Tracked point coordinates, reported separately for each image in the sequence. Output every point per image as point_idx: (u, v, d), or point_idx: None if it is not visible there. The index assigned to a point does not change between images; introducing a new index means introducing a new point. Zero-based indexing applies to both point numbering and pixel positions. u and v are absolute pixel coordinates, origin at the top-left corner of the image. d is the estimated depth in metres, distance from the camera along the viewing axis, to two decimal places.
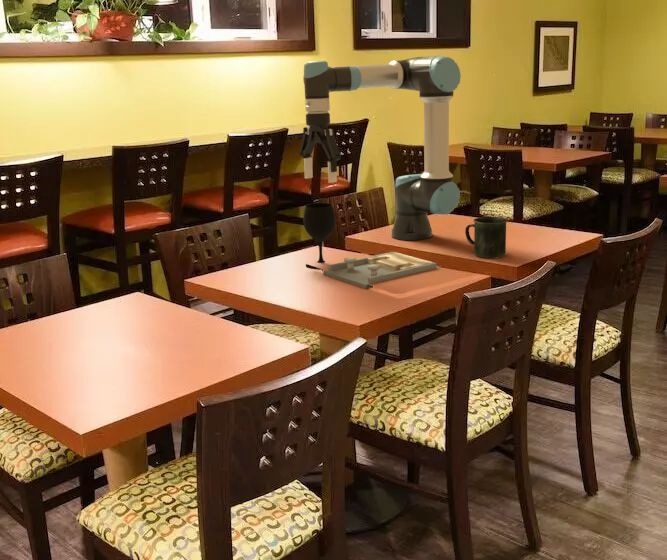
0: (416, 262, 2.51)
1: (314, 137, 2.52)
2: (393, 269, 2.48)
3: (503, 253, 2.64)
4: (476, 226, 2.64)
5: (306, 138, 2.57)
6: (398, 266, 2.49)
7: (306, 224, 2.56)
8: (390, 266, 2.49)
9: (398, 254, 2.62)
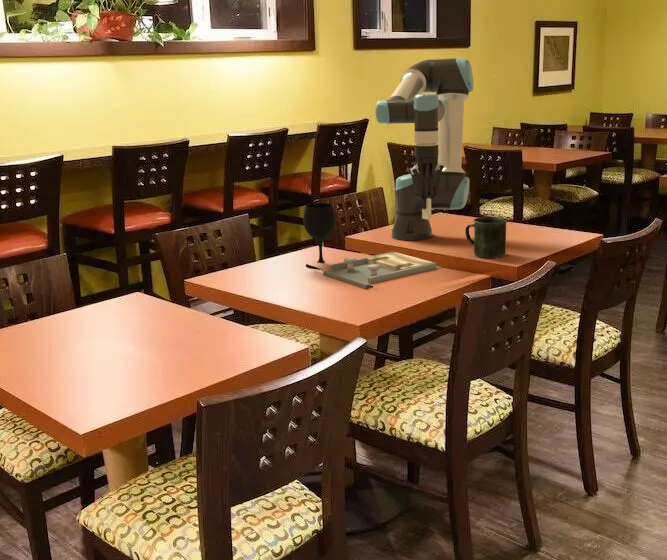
0: (416, 262, 2.51)
1: None
2: (393, 269, 2.48)
3: (503, 253, 2.64)
4: (476, 226, 2.64)
5: (434, 174, 2.56)
6: (398, 266, 2.49)
7: (306, 224, 2.56)
8: (390, 266, 2.49)
9: (398, 254, 2.62)
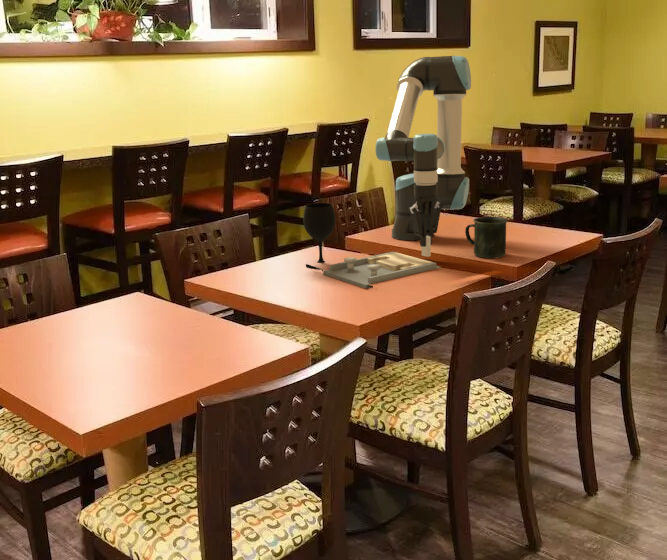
0: (416, 262, 2.51)
1: None
2: (393, 269, 2.48)
3: (503, 253, 2.64)
4: (476, 226, 2.64)
5: (434, 212, 2.59)
6: (398, 266, 2.49)
7: (306, 224, 2.56)
8: (390, 266, 2.49)
9: (398, 254, 2.62)
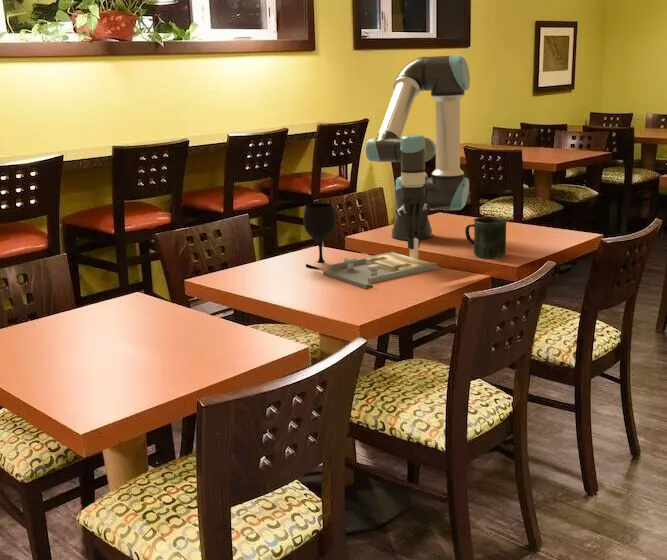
0: (414, 262, 2.50)
1: None
2: (391, 269, 2.48)
3: (503, 253, 2.64)
4: (476, 226, 2.64)
5: (421, 214, 2.56)
6: (396, 266, 2.48)
7: (306, 224, 2.56)
8: (388, 267, 2.48)
9: (396, 254, 2.61)
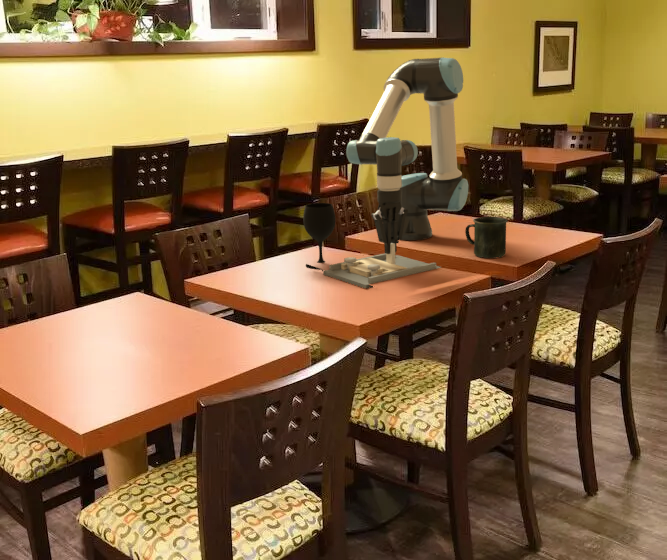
0: (390, 268, 2.45)
1: None
2: (366, 275, 2.42)
3: (503, 253, 2.64)
4: (476, 226, 2.64)
5: (398, 218, 2.51)
6: None
7: (306, 224, 2.56)
8: (364, 272, 2.43)
9: (373, 259, 2.56)
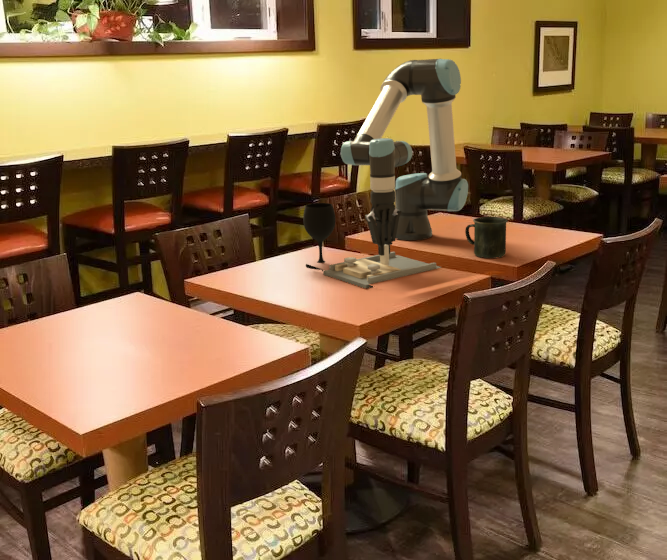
0: (384, 269, 2.44)
1: None
2: (360, 276, 2.41)
3: (503, 253, 2.64)
4: (476, 226, 2.64)
5: (392, 219, 2.50)
6: (365, 273, 2.42)
7: (306, 224, 2.56)
8: (357, 273, 2.42)
9: (367, 261, 2.55)
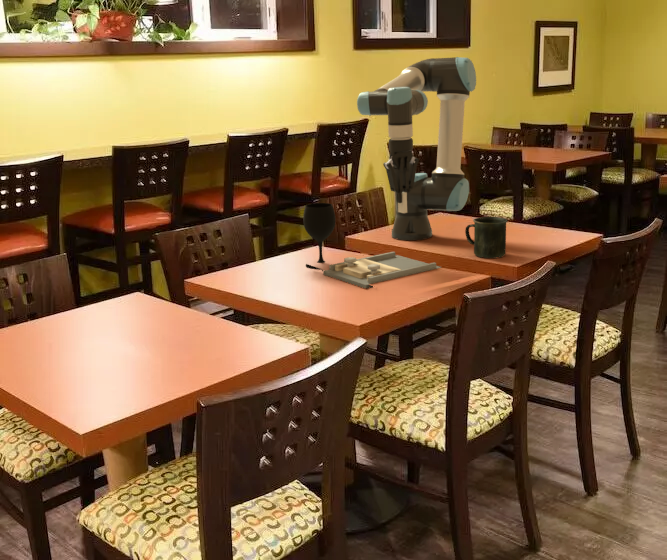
0: (384, 269, 2.44)
1: None
2: (360, 276, 2.41)
3: (503, 253, 2.64)
4: (476, 226, 2.64)
5: (409, 167, 2.55)
6: (365, 273, 2.42)
7: (306, 224, 2.56)
8: (357, 273, 2.42)
9: (367, 261, 2.55)
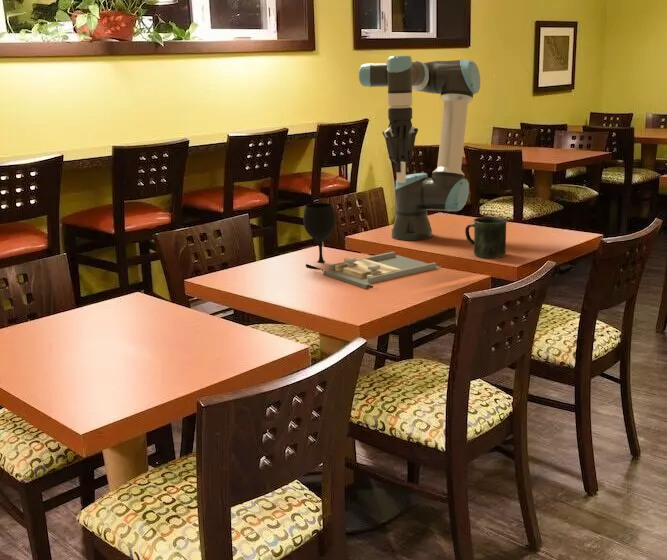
0: (384, 269, 2.44)
1: None
2: (360, 276, 2.41)
3: (503, 253, 2.64)
4: (476, 226, 2.64)
5: (409, 137, 2.55)
6: (365, 273, 2.42)
7: (306, 224, 2.56)
8: (357, 273, 2.42)
9: (367, 261, 2.55)
